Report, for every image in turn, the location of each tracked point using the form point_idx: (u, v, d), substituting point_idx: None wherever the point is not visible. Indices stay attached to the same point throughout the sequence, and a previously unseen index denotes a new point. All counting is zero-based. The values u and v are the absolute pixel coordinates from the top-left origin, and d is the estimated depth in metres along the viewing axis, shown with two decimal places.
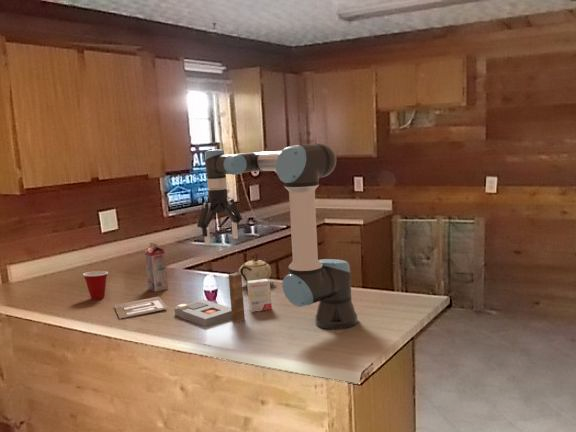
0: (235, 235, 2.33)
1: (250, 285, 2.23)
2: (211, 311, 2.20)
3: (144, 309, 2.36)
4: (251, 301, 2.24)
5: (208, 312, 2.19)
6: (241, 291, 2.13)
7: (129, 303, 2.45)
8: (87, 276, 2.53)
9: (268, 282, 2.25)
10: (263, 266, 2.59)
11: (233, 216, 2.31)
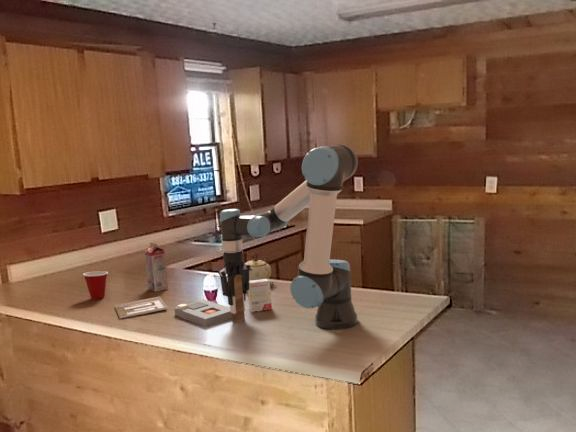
0: None
1: (250, 285, 2.23)
2: (211, 311, 2.20)
3: (144, 309, 2.36)
4: (251, 301, 2.24)
5: (208, 312, 2.19)
6: (241, 291, 2.13)
7: (130, 303, 2.45)
8: (87, 276, 2.53)
9: (268, 282, 2.25)
10: (263, 266, 2.59)
11: (242, 284, 2.14)
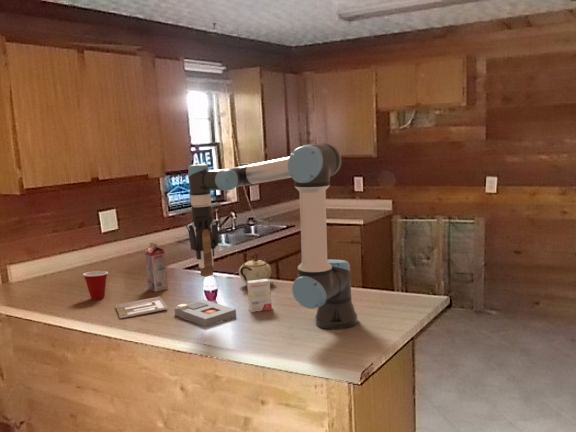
0: None
1: (250, 285, 2.23)
2: (211, 311, 2.20)
3: (145, 309, 2.36)
4: (251, 301, 2.24)
5: (208, 312, 2.19)
6: (209, 246, 2.16)
7: (130, 303, 2.45)
8: (87, 276, 2.53)
9: (268, 282, 2.25)
10: (263, 266, 2.59)
11: (211, 240, 2.17)
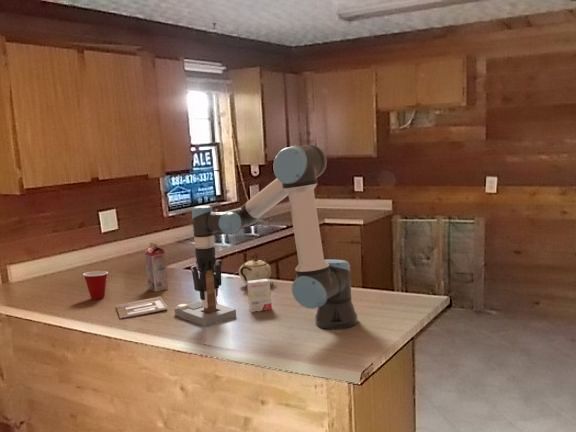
0: None
1: (250, 285, 2.23)
2: None
3: (145, 309, 2.36)
4: (251, 301, 2.24)
5: None
6: (213, 286, 2.18)
7: (131, 303, 2.45)
8: (87, 276, 2.53)
9: (268, 282, 2.25)
10: (263, 266, 2.59)
11: (214, 280, 2.19)
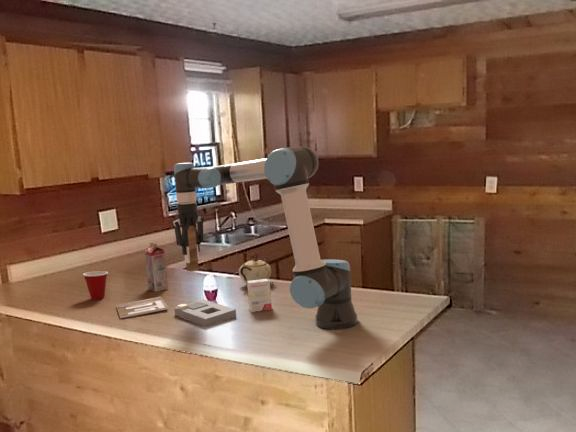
0: None
1: (250, 285, 2.23)
2: None
3: (145, 309, 2.36)
4: (251, 301, 2.24)
5: None
6: (195, 242, 2.23)
7: (131, 303, 2.45)
8: (87, 276, 2.53)
9: (268, 282, 2.25)
10: (263, 266, 2.59)
11: (196, 236, 2.24)
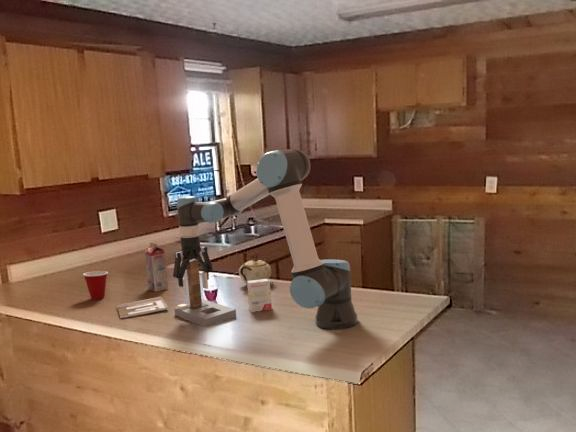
0: (205, 285, 2.29)
1: (250, 285, 2.23)
2: None
3: (146, 309, 2.36)
4: (251, 301, 2.24)
5: None
6: (198, 277, 2.25)
7: (132, 303, 2.45)
8: (87, 276, 2.53)
9: (268, 282, 2.25)
10: (263, 266, 2.59)
11: (204, 265, 2.27)
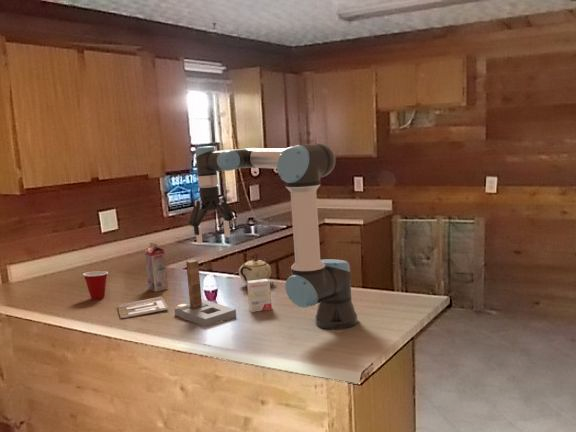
0: (227, 233, 2.28)
1: (250, 285, 2.23)
2: None
3: (146, 309, 2.36)
4: (251, 301, 2.24)
5: None
6: (198, 277, 2.25)
7: (132, 303, 2.45)
8: (87, 276, 2.53)
9: (268, 282, 2.25)
10: (263, 266, 2.59)
11: (225, 214, 2.27)
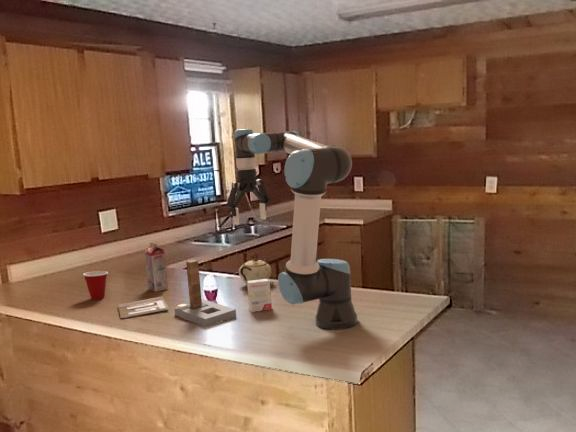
0: (263, 216, 2.31)
1: (250, 285, 2.23)
2: None
3: (146, 309, 2.36)
4: (251, 301, 2.24)
5: None
6: (198, 277, 2.25)
7: (132, 303, 2.45)
8: (87, 276, 2.53)
9: (268, 282, 2.25)
10: (263, 266, 2.59)
11: (261, 196, 2.29)
